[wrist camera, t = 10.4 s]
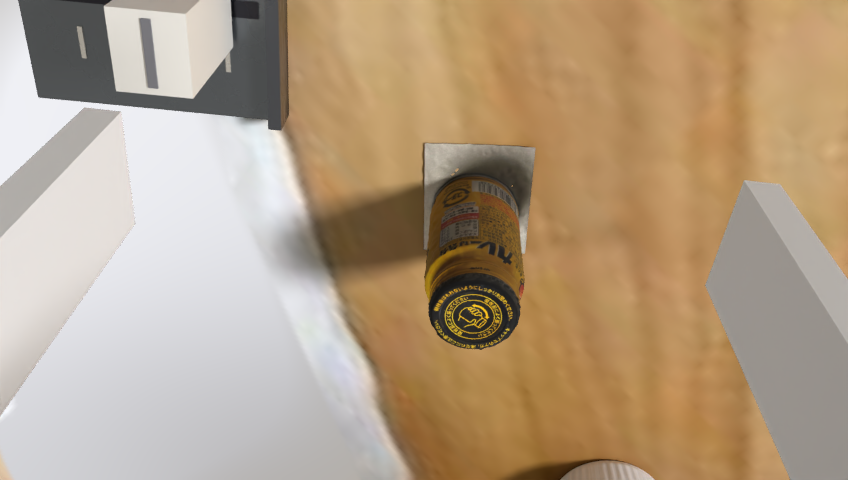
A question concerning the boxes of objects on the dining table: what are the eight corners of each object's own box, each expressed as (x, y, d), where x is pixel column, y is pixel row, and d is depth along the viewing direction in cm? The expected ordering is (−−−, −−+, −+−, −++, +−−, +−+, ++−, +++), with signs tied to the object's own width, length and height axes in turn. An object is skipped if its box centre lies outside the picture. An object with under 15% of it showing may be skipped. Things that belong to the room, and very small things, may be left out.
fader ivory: (159, -35, 44) (102, 6, 37) (229, -28, 44) (184, 14, 37) (167, 40, 46) (115, 91, 39) (233, 47, 46) (192, 99, 40)
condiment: (423, 248, 55) (413, 360, 45) (425, 141, 51) (413, 240, 41) (524, 251, 55) (536, 365, 45) (535, 145, 51) (551, 245, 41)
